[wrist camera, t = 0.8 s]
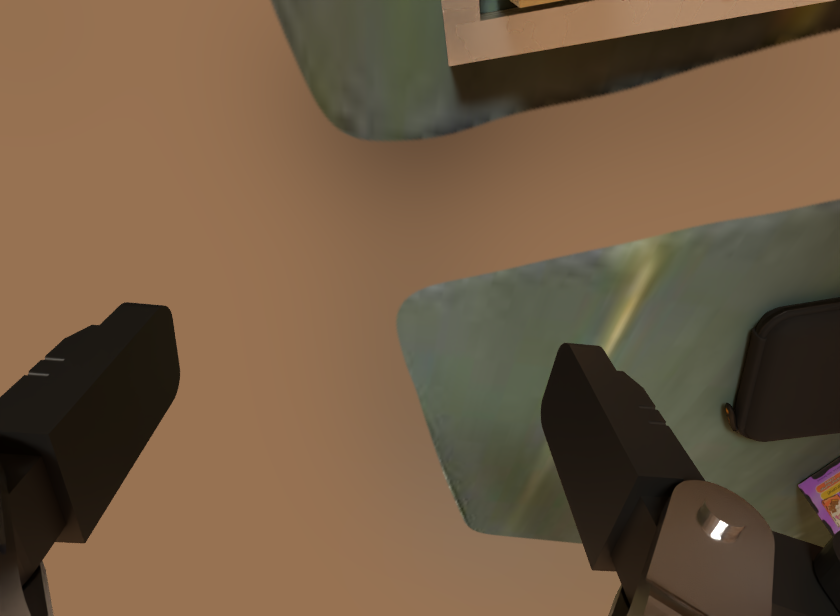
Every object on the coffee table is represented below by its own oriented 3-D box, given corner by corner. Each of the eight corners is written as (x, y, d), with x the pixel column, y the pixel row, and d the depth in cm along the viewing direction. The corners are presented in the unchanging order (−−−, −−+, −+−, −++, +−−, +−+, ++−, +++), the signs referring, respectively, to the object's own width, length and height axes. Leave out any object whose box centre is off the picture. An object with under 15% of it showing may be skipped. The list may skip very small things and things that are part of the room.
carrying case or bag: (734, 302, 37) (712, 427, 45) (756, 328, 34) (728, 455, 43) (893, 276, 35) (839, 411, 44) (928, 302, 33) (863, 439, 41)
